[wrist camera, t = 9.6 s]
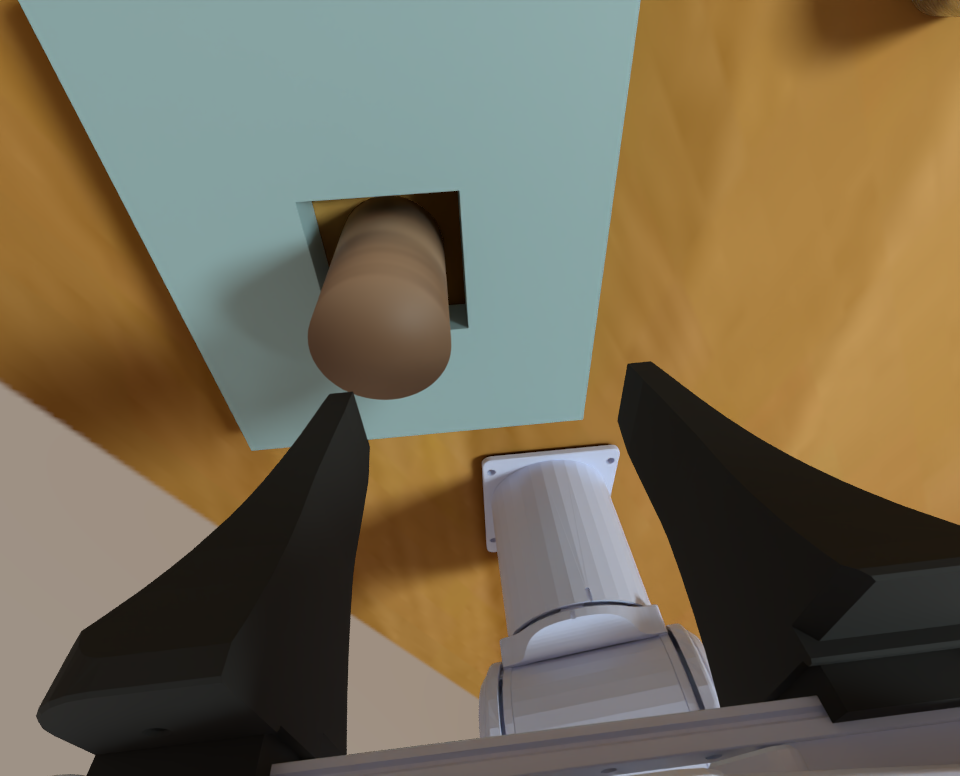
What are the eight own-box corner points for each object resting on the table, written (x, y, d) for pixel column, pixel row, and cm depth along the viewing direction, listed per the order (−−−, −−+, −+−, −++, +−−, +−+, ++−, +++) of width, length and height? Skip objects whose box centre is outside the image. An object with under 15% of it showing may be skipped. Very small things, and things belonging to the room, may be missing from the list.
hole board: (573, 393, 25) (582, 419, 23) (262, 421, 24) (251, 450, 22) (623, -51, 14) (648, -58, 12) (54, -23, 13) (4, -26, 11)
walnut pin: (447, 288, 20) (456, 393, 15) (354, 295, 20) (327, 405, 15) (438, 191, 18) (444, 276, 12) (330, 199, 17) (288, 288, 12)
